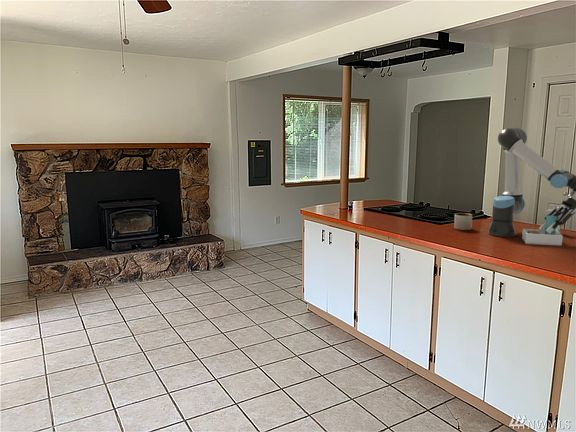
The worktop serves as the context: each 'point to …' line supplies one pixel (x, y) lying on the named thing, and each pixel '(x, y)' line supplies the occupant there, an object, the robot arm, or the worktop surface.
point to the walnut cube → (533, 232)
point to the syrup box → (556, 220)
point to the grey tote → (542, 238)
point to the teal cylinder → (549, 222)
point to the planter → (463, 221)
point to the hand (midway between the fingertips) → (544, 231)
